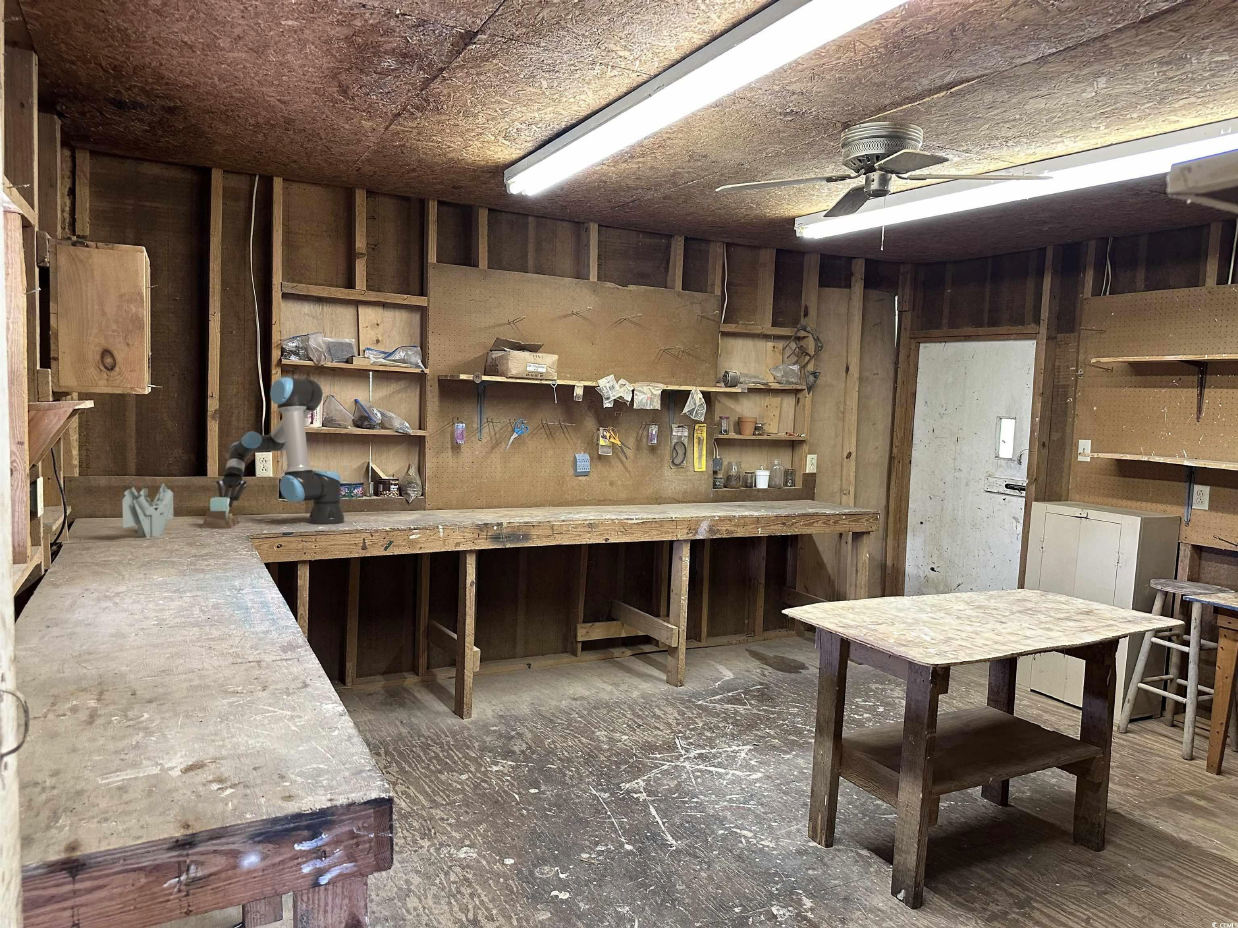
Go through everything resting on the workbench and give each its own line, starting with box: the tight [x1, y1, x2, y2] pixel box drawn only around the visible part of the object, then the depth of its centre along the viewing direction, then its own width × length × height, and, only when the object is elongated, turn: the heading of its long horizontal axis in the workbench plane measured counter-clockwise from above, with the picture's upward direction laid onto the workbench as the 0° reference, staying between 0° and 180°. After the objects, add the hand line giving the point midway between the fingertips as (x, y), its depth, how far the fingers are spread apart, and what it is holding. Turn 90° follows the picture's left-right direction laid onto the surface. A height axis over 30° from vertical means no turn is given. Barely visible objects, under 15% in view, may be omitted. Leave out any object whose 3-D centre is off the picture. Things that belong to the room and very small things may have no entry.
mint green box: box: [209, 496, 229, 520], centre depth 348 cm, size 7×5×11 cm
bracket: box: [121, 483, 174, 538], centre depth 320 cm, size 28×7×20 cm, turn 171°
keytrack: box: [201, 510, 240, 529], centre depth 351 cm, size 15×11×7 cm
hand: (225, 511), depth 358 cm, fingers closed
